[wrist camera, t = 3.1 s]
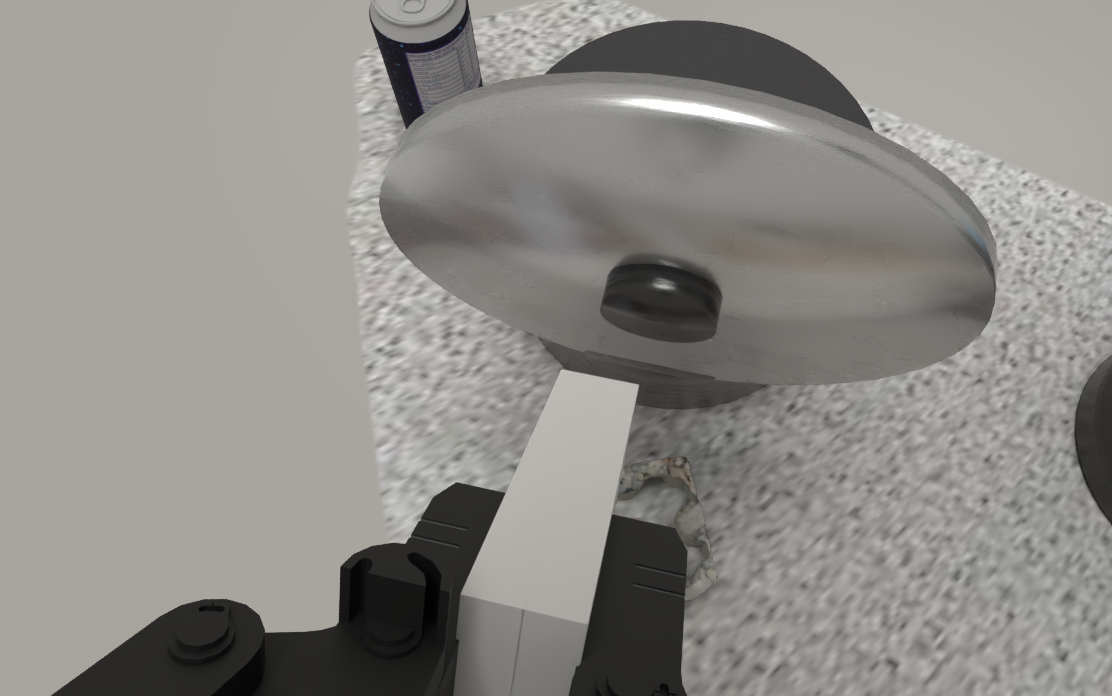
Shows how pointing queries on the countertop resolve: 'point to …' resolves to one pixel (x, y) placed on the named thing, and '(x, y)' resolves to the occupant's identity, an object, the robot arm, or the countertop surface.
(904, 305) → the lid
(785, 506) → the countertop surface
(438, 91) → the beverage can
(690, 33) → the cooker pot
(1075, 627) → the countertop surface
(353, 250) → the countertop surface
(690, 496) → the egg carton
